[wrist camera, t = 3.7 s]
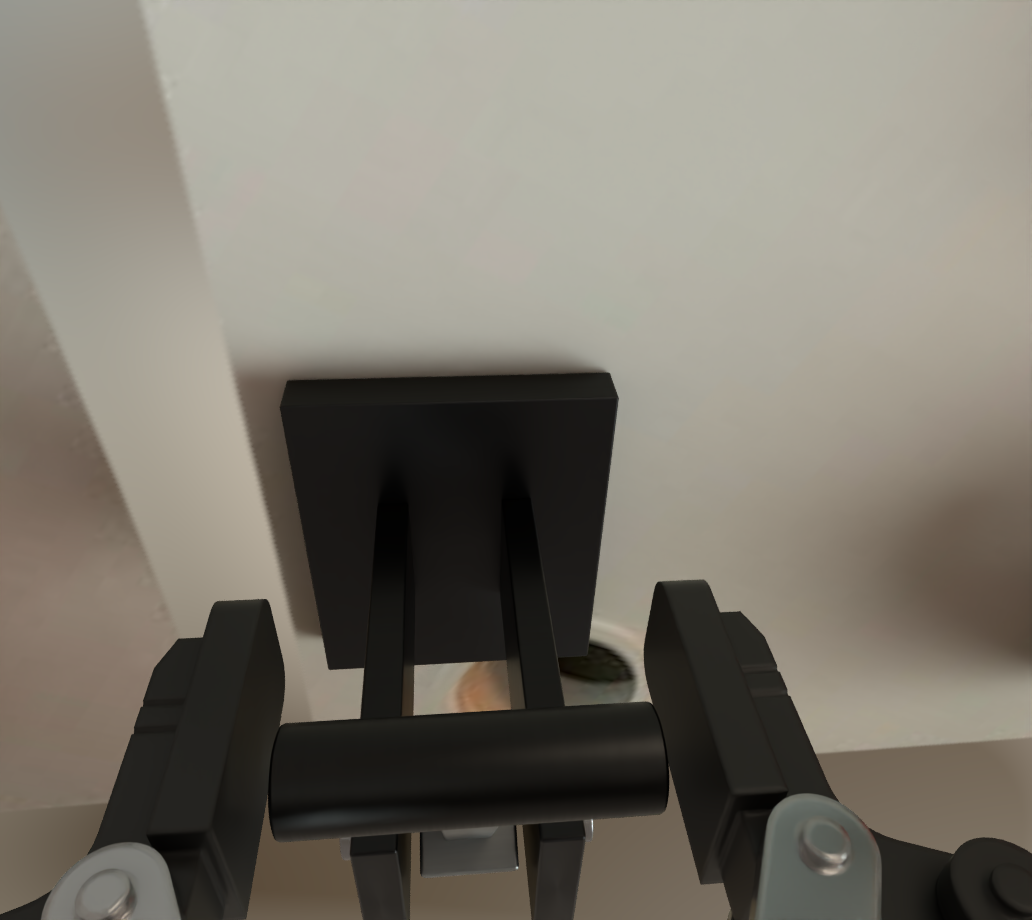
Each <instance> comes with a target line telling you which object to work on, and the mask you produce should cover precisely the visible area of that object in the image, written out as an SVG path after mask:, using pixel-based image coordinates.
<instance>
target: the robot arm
mask: <svg viewBox="0 0 1032 920" xmlns="http://www.w3.org/2000/svg"><path fill="white" fill-rule="evenodd" d="M644 667H645V675H646V680H647V684H648V688H649V692H650V696H651V699H652V703H653V706H654V708H655V710H656V712H657V714H658V716H659V719H660V722H661V725H662V729H663V733H664V737H665V742H666V749H667V756H668V763H669V767H670V771H671V774H672V778H673V782H674V786H675V789H676V793H677V797H678V801H679V804H680V808H681V812H682V816H683V820H684V823H685V827H686V831H687V835H688V838H689V842H690V845H691V850H692V853H693V857H694V861H695V865H696V868H697V872H698V876H699V880H700V884H714V883H724V887H725V890H726V893H727V897H728V900H729V903H730V907H731V910H730V912H729V915H728V919H727V920H1032V854H1031V853H1030V852H1028V851H1027V850H1025V849H1023V848H1021V847H1019V846H1017V845H1015V844H1013V843H1010V842H1007V841H1004V840H1000V839H996V838H976V839H972V840H969V841H967V842H965V843H964V844H963V845H961V846H960V847H959V848H958V849H957V851H956V852H955V853H954V854H951V853H947V852H943V851H939V850H935V849H931V848H927V847H923V846H919V845H915V844H911V843H907V842H903V841H899V840H896V839H893V838H890V837H886V836H884V835H882V834H880V833H878V832H875V831H874V830H872V829H870V828H868V827H867V826H866V825H865V823H864V822H863V821H862V820H861V819H860V818H859V817H858V816H857V815H856V814H855V813H854V812H853V811H851V810H850V809H849V808H847V807H846V806H844V805H842V804H841V803H840V802H839V801H838V799H837V798H836V796H835V795H834V794H833V792H832V790H831V788H830V786H829V784H828V782H827V780H826V777H825V775H824V773H823V771H822V768H821V766H820V764H819V761H818V759H817V757H816V754H815V752H814V750H813V747H812V745H811V743H810V741H809V738H808V736H807V734H806V731H805V729H804V727H803V724H802V722H801V720H800V717H799V715H798V713H797V711H796V708H795V706H794V704H793V701H792V699H791V697H790V696H788V694H787V687H786V685H785V683H784V681H783V678H782V676H781V674H780V672H778V671H777V664H776V662H775V660H774V657H773V655H772V653H771V651H770V648H769V646H768V644H767V641H766V639H765V637H764V636H763V635H762V633H761V632H760V631H759V630H758V629H757V628H756V627H755V626H754V625H753V624H752V623H751V622H750V621H749V620H748V619H747V618H746V617H745V616H744V615H743V614H742V613H741V611H739V612H719V609H718V607H717V604H716V601H715V599H714V596H713V594H712V591H711V589H710V586H709V585H708V583H707V582H706V581H705V580H683V581H662V582H657V584H656V586H655V589H654V594H653V600H652V605H651V610H650V616H649V621H648V626H647V632H646V637H645V643H644ZM284 692H285V671H284V663H283V658H282V653H281V649H280V645H279V641H278V637H277V633H276V628H275V624H274V620H273V616H272V611H271V607H270V604H269V602H268V600H267V599H256V600H235V601H217V602H215V603H214V605H213V607H212V609H211V612H210V615H209V618H208V622H207V625H206V629H205V632H204V635H203V638H185V639H178V640H177V641H176V642H175V644H174V645H173V646H172V647H171V648H170V650H169V651H168V652H167V653H166V654H165V656H164V657H163V658H162V659H161V660H160V662H159V663H158V664H157V665H156V666H155V668H154V670H153V673H152V676H151V679H150V682H149V685H148V688H147V691H146V694H145V697H144V700H143V707H141V708H140V711H139V714H138V717H137V720H136V723H135V726H134V734H132V735H131V738H130V741H129V744H128V747H127V750H126V752H125V755H124V758H123V761H122V764H121V767H120V770H119V773H118V776H117V779H116V782H115V785H114V788H113V791H112V794H111V797H110V799H109V802H108V805H107V809H106V811H105V815H104V817H103V820H102V823H101V826H100V829H99V832H98V834H97V837H96V839H95V841H94V844H93V846H92V848H91V849H90V851H89V852H88V854H87V856H85V857H84V858H82V859H81V860H80V861H78V862H77V863H76V864H75V865H73V866H72V867H71V868H70V869H69V870H68V871H67V872H66V873H65V874H64V875H63V876H62V877H61V879H60V880H59V881H58V883H57V884H56V885H55V887H54V888H53V890H51V891H50V892H49V893H47V894H45V895H43V896H42V897H40V898H38V899H37V900H35V901H32V902H30V903H28V904H26V905H23V906H21V907H18V908H16V909H13V910H11V911H8V912H5V913H3V914H0V920H244V919H246V917H247V911H248V905H249V899H250V894H251V888H252V882H253V876H254V870H255V865H256V859H257V853H258V847H259V842H260V836H261V830H262V824H263V818H264V813H265V807H266V801H267V795H268V781H269V768H270V759H271V753H272V748H273V743H274V740H275V737H276V734H277V731H278V729H279V726H280V720H281V714H282V708H283V702H284Z"/></svg>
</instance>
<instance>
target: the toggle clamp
mask: <svg viewBox="0 0 1032 920" xmlns="http://www.w3.org/2000/svg"><path fill="white" fill-rule="evenodd" d="M618 400H619V398H618V395H617V392H616V389H615V386H614V384H613V381H612V378H611V375H610V373H579V374H538V375H497V376H456V377H415V378H374V379H333V380H292V381H287V383H286V387H285V390H284V394H283V398H282V401H281V405H280V411H281V417H282V422H283V427H284V433H285V438H286V443H287V449H288V454H289V460H290V465H291V470H292V476H293V481H294V486H295V492H296V497H297V503H298V508H299V513H300V519H301V524H302V530H303V535H304V540H305V546H306V551H307V556H308V562H309V567H310V573H311V578H312V583H313V589H314V594H315V599H316V605H317V610H318V616H319V621H320V626H321V632H322V637H323V642H324V648H325V653H326V659H327V664H328V669H329V670H337V669H355V668H364V679H363V691H362V704H361V717H360V719H365V718H382V717H398V716H413V705H414V665H427V664H445V663H464V662H482V661H500V660H506V661H507V671H508V682H509V692H510V702H511V710H514V709H530V708H547V707H563V706H565V702H564V696H563V690H562V684H561V678H560V671H559V665H558V659H557V657H572V656H586V655H587V653H588V645H589V637H590V629H591V621H592V612H593V604H594V596H595V588H596V580H597V572H598V563H599V555H600V547H601V539H602V531H603V522H604V514H605V506H606V498H607V490H608V481H609V473H610V465H611V457H612V449H613V441H614V432H615V424H616V416H617V408H618ZM523 835H524V846H525V856H526V866H527V876H528V887H529V897H530V906H531V917H532V920H573V918H574V912H575V905H576V899H577V892H578V886H579V879H580V873H581V866H582V859H583V852H584V846H585V842H590V841H591V840H592V837H593V820H580V821H566V822H552V823H539V824H525V825H523ZM340 852H341V856H342V859H343V860H351V863H352V868H353V873H354V878H355V882H356V888H357V892H358V897H359V902H360V907H361V912H362V917H363V920H410V871H411V869H410V868H411V833H402V834H388V835H374V836H361V837H347V838H340Z"/></svg>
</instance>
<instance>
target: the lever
mask: <svg viewBox="0 0 1032 920" xmlns="http://www.w3.org/2000/svg"><path fill="white" fill-rule="evenodd" d="M668 796H669V766H668V756H667V749H666V742H665V737H664V733H663V729H662V725H661V722H660V719H659V716H658V714H657V712H656V710H655V708H654V706H653V705H652V704H651V703H649V702H629V703H613V704H596V705H580V706H563V707H547V708H530V709H514V710H497V711H481V712H464V713H448V714H431V715H415V716H398V717H382V718H365V719H349V720H332V721H316V722H301V723H300V722H299V723H285V724H283V725H281V726H280V727H279V729H278V731H277V734H276V737H275V740H274V743H273V748H272V753H271V759H270V768H269V781H268V808H269V820H270V826H271V830H272V834H273V836H274V839H275V840H276V841H278V842H291V841H306V840H320V839H333V838H347V837H361V836H374V835H388V834H402V833H415V832H420V874H421V876H422V877H424V878H431V877H444V876H457V875H470V874H482V873H496V872H508V871H515V870H517V869H518V867H519V863H518V847H517V830H516V825H525V824H539V823H552V822H566V821H580V820H593V819H607V818H621V817H634V816H647V815H660V814H662V813H663V812H664V811H665V809H666V807H667V802H668Z"/></svg>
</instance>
